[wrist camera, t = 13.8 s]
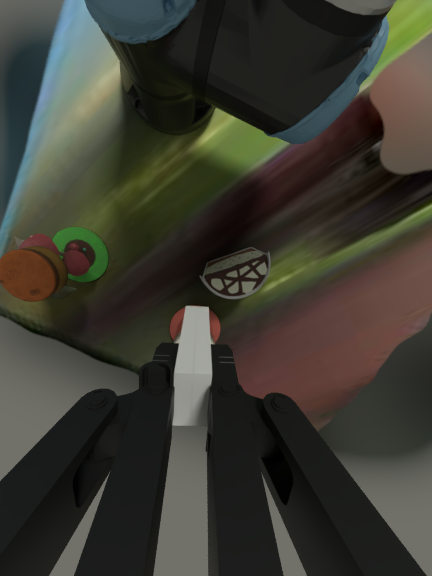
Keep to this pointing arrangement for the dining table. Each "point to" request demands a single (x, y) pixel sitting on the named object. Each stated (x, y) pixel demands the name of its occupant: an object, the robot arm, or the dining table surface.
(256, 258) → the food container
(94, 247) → the translucent plastic tub
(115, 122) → the dining table surface
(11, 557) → the robot arm
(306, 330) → the dining table surface
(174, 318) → the red flanged cylinder
